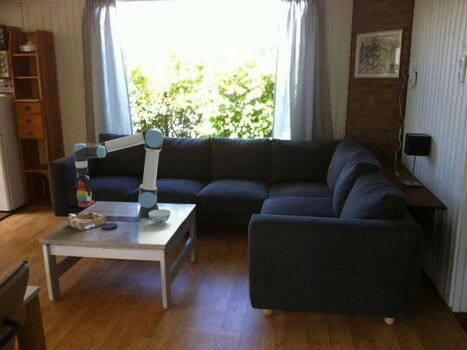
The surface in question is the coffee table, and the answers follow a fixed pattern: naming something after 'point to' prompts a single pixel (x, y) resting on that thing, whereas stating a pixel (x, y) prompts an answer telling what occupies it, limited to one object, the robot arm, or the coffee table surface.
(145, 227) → the coffee table surface
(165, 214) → the chinaware
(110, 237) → the coffee table surface
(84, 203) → the stacking bear
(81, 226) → the crate
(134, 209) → the coffee table surface
